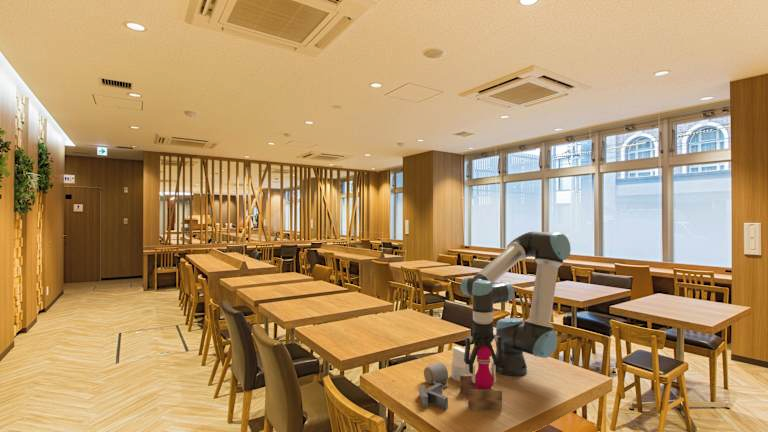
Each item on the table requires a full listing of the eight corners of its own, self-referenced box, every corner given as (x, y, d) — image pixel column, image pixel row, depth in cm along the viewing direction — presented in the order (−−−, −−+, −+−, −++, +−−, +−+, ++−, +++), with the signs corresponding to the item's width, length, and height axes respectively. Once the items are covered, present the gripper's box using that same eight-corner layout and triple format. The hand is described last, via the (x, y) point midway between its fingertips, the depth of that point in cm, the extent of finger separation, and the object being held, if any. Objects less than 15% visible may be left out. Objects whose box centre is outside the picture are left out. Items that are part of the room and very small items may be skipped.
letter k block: (441, 392, 158) (441, 382, 158) (448, 409, 144) (448, 398, 144) (418, 393, 157) (418, 382, 157) (423, 410, 143) (423, 399, 143)
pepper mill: (494, 398, 147) (493, 344, 147) (474, 396, 149) (473, 343, 148) (492, 389, 154) (492, 338, 154) (473, 388, 156) (473, 337, 156)
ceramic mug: (422, 380, 169) (422, 363, 169) (438, 377, 173) (438, 359, 173) (436, 391, 160) (436, 372, 159) (453, 387, 163) (453, 368, 163)
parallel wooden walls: (489, 391, 159) (489, 374, 159) (502, 409, 144) (502, 390, 144) (460, 391, 158) (460, 374, 158) (469, 410, 143) (469, 391, 143)
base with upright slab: (447, 375, 175) (447, 348, 175) (462, 371, 179) (462, 345, 179) (460, 383, 167) (460, 354, 167) (476, 378, 171) (476, 351, 171)
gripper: (505, 318, 155) (506, 376, 156) (454, 319, 155) (455, 377, 155) (512, 323, 148) (512, 384, 148) (459, 324, 147) (459, 386, 147)
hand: (483, 380), depth 151 cm, fingers closed on pepper mill, 7 cm apart
